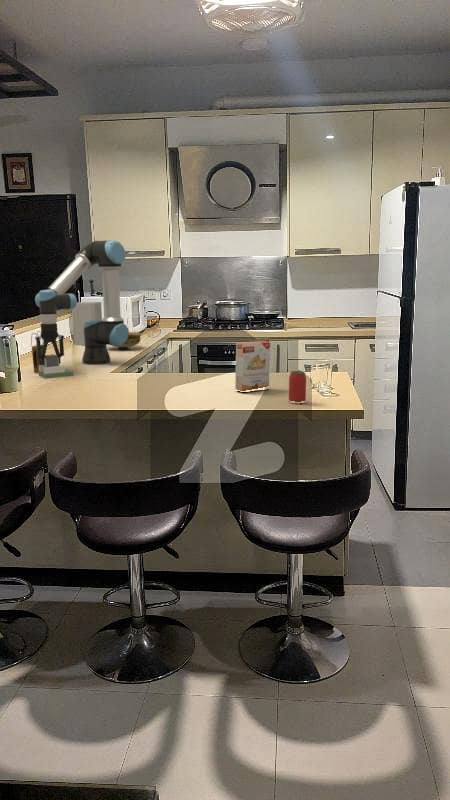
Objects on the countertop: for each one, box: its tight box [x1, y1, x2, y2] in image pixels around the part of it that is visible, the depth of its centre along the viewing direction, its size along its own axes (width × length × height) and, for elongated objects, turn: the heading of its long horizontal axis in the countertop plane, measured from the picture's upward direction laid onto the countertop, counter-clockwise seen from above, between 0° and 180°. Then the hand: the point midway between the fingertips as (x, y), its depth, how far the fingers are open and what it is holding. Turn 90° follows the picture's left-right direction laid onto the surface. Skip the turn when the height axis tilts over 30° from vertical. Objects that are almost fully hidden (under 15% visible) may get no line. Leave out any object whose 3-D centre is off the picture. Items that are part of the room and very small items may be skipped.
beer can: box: [288, 370, 307, 402], centre depth 239 cm, size 7×7×12 cm
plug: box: [45, 354, 58, 367], centre depth 297 cm, size 5×5×8 cm
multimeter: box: [30, 330, 43, 375], centre depth 309 cm, size 15×10×20 cm
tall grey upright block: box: [71, 301, 103, 347], centre depth 409 cm, size 19×15×28 cm
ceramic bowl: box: [111, 331, 143, 351], centre depth 390 cm, size 30×24×10 cm
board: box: [38, 365, 74, 379], centre depth 299 cm, size 14×9×5 cm, turn 124°
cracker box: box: [234, 340, 271, 391], centre depth 260 cm, size 14×6×21 cm, turn 122°
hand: (51, 371), depth 298 cm, fingers open, 5 cm apart
